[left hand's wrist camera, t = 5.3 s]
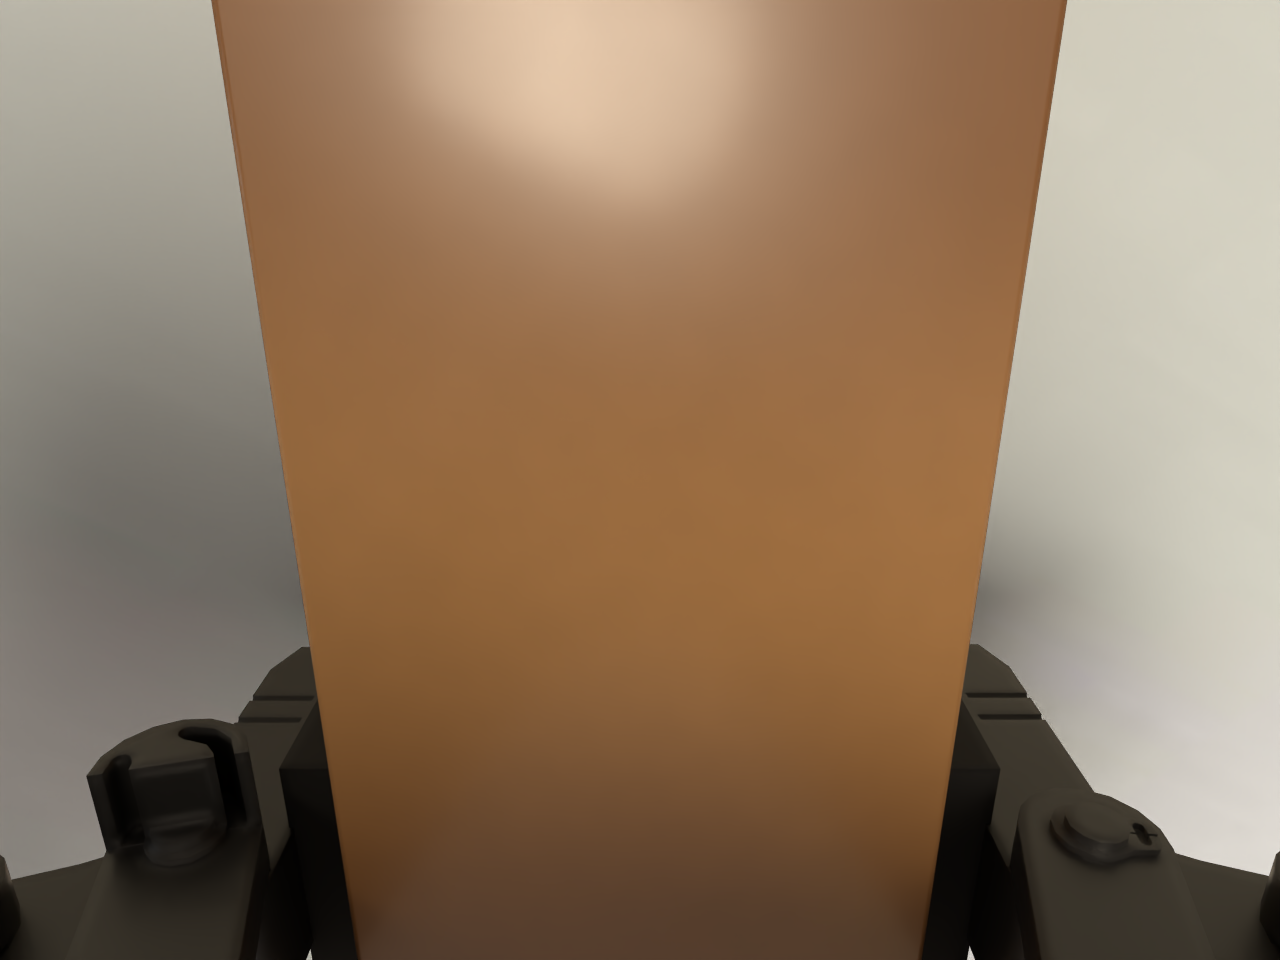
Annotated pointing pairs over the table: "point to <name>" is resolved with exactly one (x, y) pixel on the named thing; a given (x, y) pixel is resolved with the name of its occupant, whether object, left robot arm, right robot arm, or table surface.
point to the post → (639, 447)
